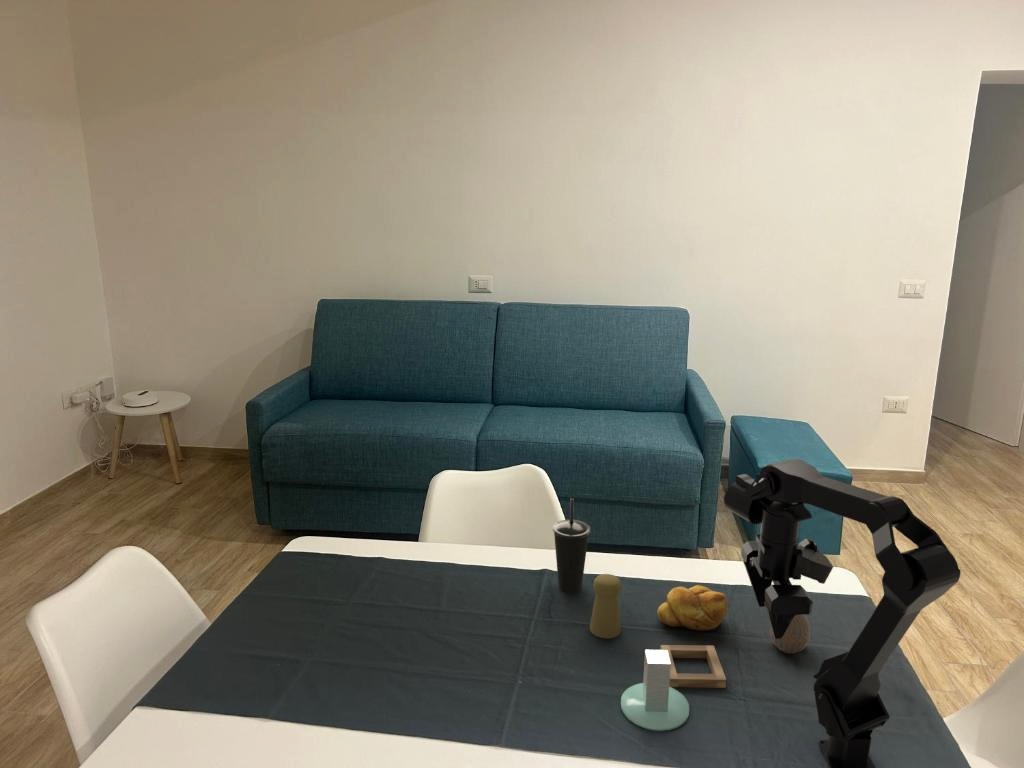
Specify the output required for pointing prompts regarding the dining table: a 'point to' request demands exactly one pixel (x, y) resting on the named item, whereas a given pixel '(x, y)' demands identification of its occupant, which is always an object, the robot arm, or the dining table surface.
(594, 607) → the wooden pepper shaker
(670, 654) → the walnut collar
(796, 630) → the vase
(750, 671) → the dining table surface
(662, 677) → the steel bar
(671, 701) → the teal coaster
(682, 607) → the bread roll
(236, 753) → the dining table surface
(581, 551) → the drinking cup
